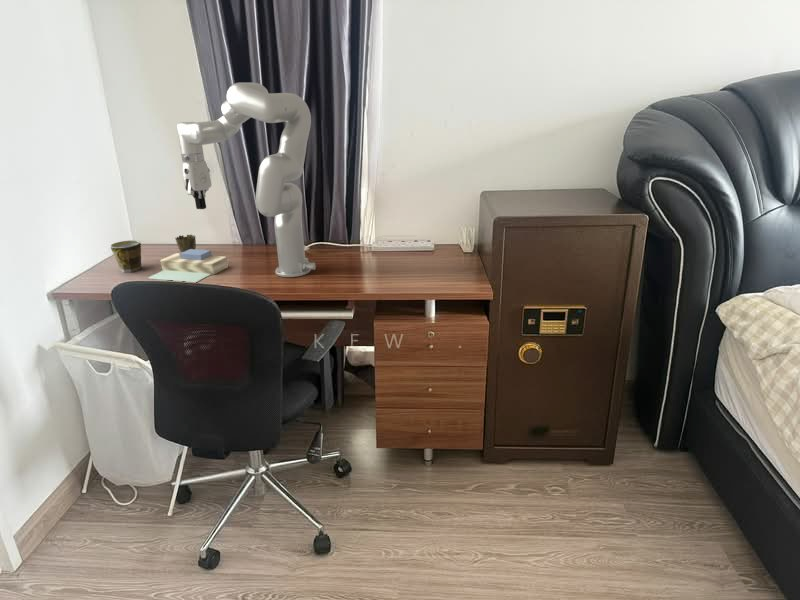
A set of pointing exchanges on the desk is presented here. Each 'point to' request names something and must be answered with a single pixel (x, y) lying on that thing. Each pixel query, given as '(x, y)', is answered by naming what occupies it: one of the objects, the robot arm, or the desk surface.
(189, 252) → the blue rectangular block
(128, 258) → the ceramic cup
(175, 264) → the block
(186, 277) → the mat
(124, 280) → the desk surface
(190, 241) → the cup
